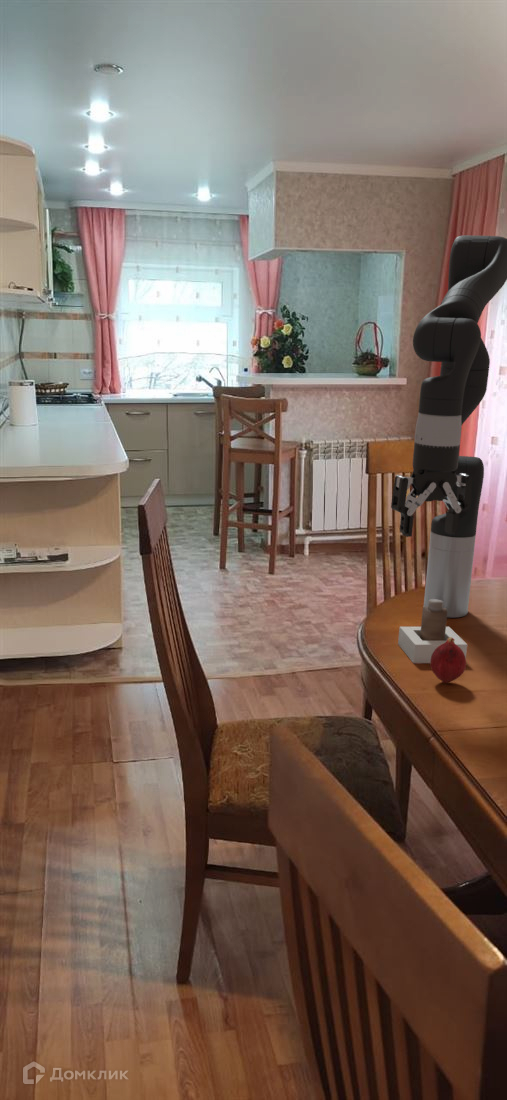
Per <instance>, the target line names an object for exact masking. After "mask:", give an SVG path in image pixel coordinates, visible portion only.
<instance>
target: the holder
mask: <svg viewBox="0 0 507 1100" xmlns="http://www.w3.org/2000/svg"><path fill="white" fill-rule="evenodd" d="M398 630H399V631H398V641H397V645H398V646H399V647H400V649H402V651H403V652H404V653H405V655H406V656H407V657H408V658H409V659H410V661H411V662H412V664H431V656H432V653H433V652H434V650H435V649H436V648H437V647H438V646H440V645H442V644H444V643H446V641H447V640H448V638H450V637H452V638H453V639H454V643H455V644H456V645H457V646H459V647H460V648H461V650H462V651H463V653H464V655H465V658H466V659H467V651H468V643H466V641H464V640H463V638H462V637H461V636H459V635H458V634H457V633H456V632H455V631H454V630H453V629H452V628H451V627H450V626H446V631H445V640H444V641H422V639H421V638H420V632H421V626H399V628H398Z"/></svg>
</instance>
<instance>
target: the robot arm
mask: <svg viewBox="0 0 507 1100" xmlns="http://www.w3.org/2000/svg"><path fill="white" fill-rule="evenodd" d="M448 261H449V262H448V278H447V279H448V280H447V281H448V283H447V292H446V294H445V295H444V297H443V299H442V300H441V303H440V305H437V306H436V307H435V308H433V309H432V310H430V311H429V312H428V313H426V315H425V316H424V317H423V318H422V319H421V320H420V321H419V322H418V324H417V326H416V328H415V330H414V333H413V337H412V338H413V339H412V347H413V351H414V352H415V354H416V356H417V357H419V358H420V359H421V360H423V361H425V362H435V363H437V362H438V363H440V371H439V375H436V376H431V377H430V376H429V377H426V378H424V379H423V380H422V382H421V384H420V385H421V386H420V390H419V391H420V393H419V401H418V402H419V404H418V414H417V420H416V422H415V423H416V425H415V431H414V444H413V454H412V455H413V457H412V470H413V471H412V473H411V476H404V475H403V476H402V475H401V474H397V475H395V477H394V481H393V490H392V496H391V505H390V508H391V510H393V511H395V512H398V513H400V521H399V523H400V524H399V531H400V533H402V535H403V536H404V537H406V538H408V537H409V538H410V537H412V536H413V528H414V517H415V516H414V513H415V512H416V510H417V509H418V508H419V507H421V506H422V505H423V504H424V502H433V501H438V502H443V503H444V504H445V507H446V508H447V509H448V510H447V511H446V512H445V513H441V514H438V515H436V516H434V517H432V520H431V523H430V524H431V525H430V536H429V546H428V547H429V548H428V554H427V555H428V557H427V567H426V577H425V578H426V579H425V589H424V599H423V607H425V606H428V601H429V600H431V599H437V600H441V601H443V608H446V609H447V618H461V617H465V616H467V615H468V610H469V602H470V593H471V584H472V575H473V573H472V572H473V565H474V557H475V545H476V544H475V543H476V536H477V525H478V519H479V518H478V517H479V508H480V502H481V496H482V489H483V484H484V476H485V465H484V462H483V460H482V458H480V457H477V456H470V455H469V456H468V455H466V456H465V455H460V450H461V449H460V448H461V438H462V426H463V424H464V423H465V422H466V421H467V419H468V418H469V417H470V416H471V415H472V413H474V411H475V410H476V409H477V408H478V406H479V405H480V403H481V402H482V400H483V399H484V398H485V395H486V392H487V389H488V388H487V387H488V381H489V379H488V378H489V371H490V364H491V363H490V362H491V360H490V355H489V351H488V348H487V346H486V345H485V343H484V341H483V339H482V332H481V328H480V325H479V324H478V323H479V321H480V319H481V316H482V314H483V311H484V309H485V308H486V306H487V305H488V304H489V303H490V302H491V300H492V299H493V298H494V297H495V296H496V295H497V294H498V293H499V291H500V290H501V289H502V288H503V287H504V285H505V283H506V282H507V238H506V237H504V236H499V235H471V234H469V235H467V234H466V235H458V236H457V237H456V238H455V239H454V241H453V243H452V246H451V249H450V254H449V260H448ZM411 486H412V489H411V491H410V492H409V493H407V492H408V490H409V489H410V487H411Z"/></svg>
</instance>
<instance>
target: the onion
mask: <svg viewBox="0 0 507 1100" xmlns="http://www.w3.org/2000/svg"><path fill="white" fill-rule="evenodd" d="M466 667H467V657H466V658H465V655H464V653H463V651H462V650H461V648H460V647H459V646H457V645H456V644H455V643H454V639H453V638H452V637H450V638H448V640H447V641H446V643H444V644H442V645H440V646H438V647H437V648H436V649H435V650H434V652H433V653H432V656H431V663H430V669H431V671H432V673H433V674H434V675H435V676H436V678H438V680H439V681H441V682H442V683H444V684H450V683H451V682H454V681H455V680H457V679H459V677H461V676H462V675H463V673H464V672H465V671H466Z"/></svg>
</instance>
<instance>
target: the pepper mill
mask: <svg viewBox="0 0 507 1100" xmlns="http://www.w3.org/2000/svg"><path fill="white" fill-rule="evenodd" d="M447 621H448V617H447V609H446V608H443V601H441V600H437V599H431V600H429V601H428V606H425V607H424V606H422V613H421V623H420V627H421V632H420V638H421V639H422V641H444V640H445V631H446V627H447Z"/></svg>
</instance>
